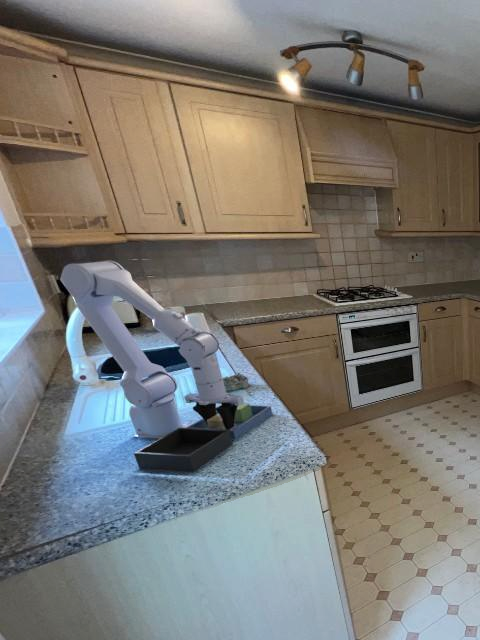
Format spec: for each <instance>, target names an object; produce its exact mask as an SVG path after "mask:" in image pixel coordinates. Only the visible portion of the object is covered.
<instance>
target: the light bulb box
mask: <svg viewBox="0 0 480 640" xmlns="http://www.w3.org/2000/svg"><path fill="white" fill-rule="evenodd" d="M163 308H164V309H165V310H168V311H175V312H177V313H180V314H181V315H183V318H184V319H185V320H186V315H187V313H186V309H185V307H184V306H179V305H174V306H167V307H163Z"/></svg>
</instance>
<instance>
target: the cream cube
mask: <svg viewBox="0 0 480 640" xmlns="http://www.w3.org/2000/svg"><path fill="white" fill-rule="evenodd" d="M207 423H208V426H209V429H226V428H225V426H224V423H223V420H222V418H221V416H220V414H217V415H215V416H213V417H212V418H210V419H208V420H207ZM234 428H235V424H234V427H233V428H231V429H230V430H232V429H234ZM226 430H227V429H226Z"/></svg>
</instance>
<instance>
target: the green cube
mask: <svg viewBox="0 0 480 640" xmlns="http://www.w3.org/2000/svg"><path fill="white" fill-rule="evenodd" d="M250 405H251V404H250V403H245V402H244V403H243V404H241V405H239V406H238V407H237V409H236V413H235V419H234V422H245V421H246V420H248V419H249V418H251V417H252V416H253V415H252V411H251V407H250Z"/></svg>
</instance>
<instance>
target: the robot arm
mask: <svg viewBox="0 0 480 640" xmlns="http://www.w3.org/2000/svg"><path fill="white" fill-rule="evenodd" d="M59 280H60V282H61V283H62V284H63V286H64V287H65V289H66V291H68V293H69V294H70V295H71V297H72V299H73V302H74V305H75V306H76V308H77V309H78V310H79V312H80V313H81V315H82V316H83V318H84V319H85V320H86V322H88V324H89V325H90V327H91V328H92V330H93V332H94V333H95V334H96V336H97V337H98V338H99V339H100V341H101V342H102V344H103V345H104V346H105V348H106V349H107V350H108V351H109V353H110V355H111V356H112V357H113V359H114V360H115V361H116V363H117V365H118V366H119V367H120V368H121V369H122V371H123V374H122V376H121V379H120V380H119V386H121V388H122V390H123V393H124V396H125V399H126V400H127V402H128V403H130V404H131V406H130V408H129V417H130V420H131V422H132V425H133V428H134V431H135V433H136V434H134V435H133V438H147V439H160V438H162V437H163V436H165V435H167V434H169V433H171V432H172V431H174V430H176V429H178V428H187V427H188V426H190V425H192V424H191V423H183V422H182V419H181V416H180V413H179V410H178V406H177V404H176V403H177V402H176V400H175V397H176V394H175V392H176V391H177V390H178V385H179V384H178V381H177V379H176V378H175V377H174V376H173V375H172V374H170V373H169V372H168V371H167V370H166V369H165V368H164V366H162V365H159V364H156V363H152V362H151V361H150V360H149V358H148V357H147V354H145V352H144V351H143V350H142V347H140V345H139V344H138V342H137V341H136V339H135V337H134V336H133V335H132V334H131V332H130V331H129V329H128V328H127V327H126V325H125V324H124V322H123V321H122V319H121V318H120V316H119V315H118V313H117V312H116V311H115V309H114V308H113V306H112V301H113V299H114V298H115V297H118V298H120V299H122V300H123V301H125V302H126V303H127V304H129V305H131V306H132V307H134V308H135V309H136V310H138V311H139V312H141V313H142V314H144V315H145V316H147V317H148V318H150V319H151V320H152V326H153V328H154V329H155V330H157V331H158V332H159V333H161V334H162V335H163V336H165V337H166V338H167V339H168V340H170V341H171V342H172V343H174V344H175V345H176V346H178V347H179V349H178V352H179V354H180V356H182V357H183V358H184V359H185V361H186V362H187V365H188V367H190V369H191V373H192V377H193V381H194V384H195V387H196V390H197V393H188V394H186V395H185V396H184V400H185V403H186V404H191V403H196V404H195V405H194V406H192V410H193V411H194V412H195V413H197V414H198V415H199V416H200V417H201V419H202V418H203V419H204V420H205V422H206V423H207V420H208V419H210V418H212V417H213V416H215V415H217V414H216V411H217V412H218V413H219V414H220V416H221V418H222V420H223V423H224V426H225V428H226V429H227V430H230V429H231V428H233V427H234V419H235V413H236V409H237V407H238V406H239V405H241V404H243V403H245V401H244V396H243V395H238V394H237V395H236V394H233V393H229V392H227V391H226V390H225V386H224V382H223V378H224V377H223V375H222V372H221V367H220V363H219V359H218V356H217V352H218V350H219V349H220V342H219V340H218V339H217V337H216V336H215V335H214V334H213V333H210V332H211V331H210V332H206V331H202V330H199V329H197V328H196V327H194V326H193V325H192V324H190V323H189V322H188V321H187V320H185V319H184V318H183V315H181V314H180V313H177V312H175V311H168V310H165V309H164V308H165V307H163V306H162V305H161V304H159V302H158V301H156V300H155V299H154V298H153V297H152V296H151V295H150V294H148V293H147V291H145V290H144V289H142V288H141V287H140V285H138V284H137V283H136V282H135V281H134V280H133V277H132V274H131V272H130V271H128V270H126V269H125V268H124V267H123V266H122V265H121V264H120V263H118V262H117V261H114V260H110V259H109V260H108V259H107V260H103V261H94V262H84V263H83V262H82V263H69V264H67V265H65V266H64V267H63V269H62V272H61V275H60V278H59ZM217 404H219V406H217ZM207 424H208V423H207Z"/></svg>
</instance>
